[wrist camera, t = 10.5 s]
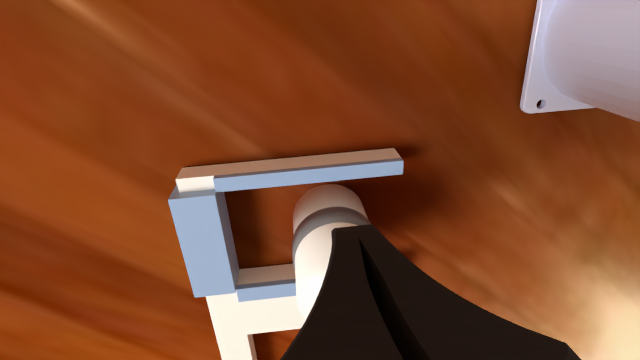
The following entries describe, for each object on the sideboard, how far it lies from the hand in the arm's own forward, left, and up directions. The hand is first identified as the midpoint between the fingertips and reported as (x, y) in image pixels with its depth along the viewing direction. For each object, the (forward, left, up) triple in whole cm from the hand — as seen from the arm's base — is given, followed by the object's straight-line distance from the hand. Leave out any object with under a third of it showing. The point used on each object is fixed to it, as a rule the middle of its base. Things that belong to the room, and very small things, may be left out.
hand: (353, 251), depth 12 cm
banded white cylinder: (0, +5, -10) cm, 11 cm away
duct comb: (+2, +10, -10) cm, 14 cm away
